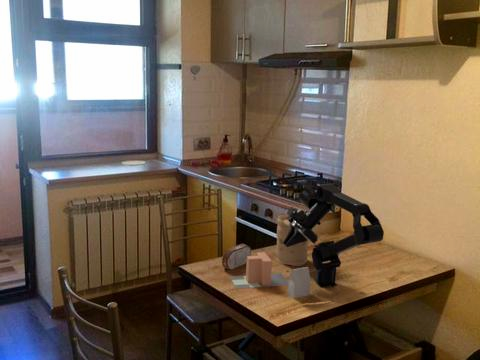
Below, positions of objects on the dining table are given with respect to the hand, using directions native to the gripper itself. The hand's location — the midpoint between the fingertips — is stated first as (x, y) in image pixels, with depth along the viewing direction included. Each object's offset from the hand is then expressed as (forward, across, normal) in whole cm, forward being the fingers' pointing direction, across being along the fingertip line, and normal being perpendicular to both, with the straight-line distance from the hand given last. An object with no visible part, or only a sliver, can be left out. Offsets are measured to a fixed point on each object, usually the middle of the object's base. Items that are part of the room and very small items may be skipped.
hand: (285, 245), depth 185 cm
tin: (+19, -16, 0) cm, 25 cm away
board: (+16, 0, +3) cm, 16 cm away
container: (+3, -18, +16) cm, 25 cm away
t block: (+16, 0, +2) cm, 16 cm away
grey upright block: (+9, +14, +10) cm, 19 cm away
